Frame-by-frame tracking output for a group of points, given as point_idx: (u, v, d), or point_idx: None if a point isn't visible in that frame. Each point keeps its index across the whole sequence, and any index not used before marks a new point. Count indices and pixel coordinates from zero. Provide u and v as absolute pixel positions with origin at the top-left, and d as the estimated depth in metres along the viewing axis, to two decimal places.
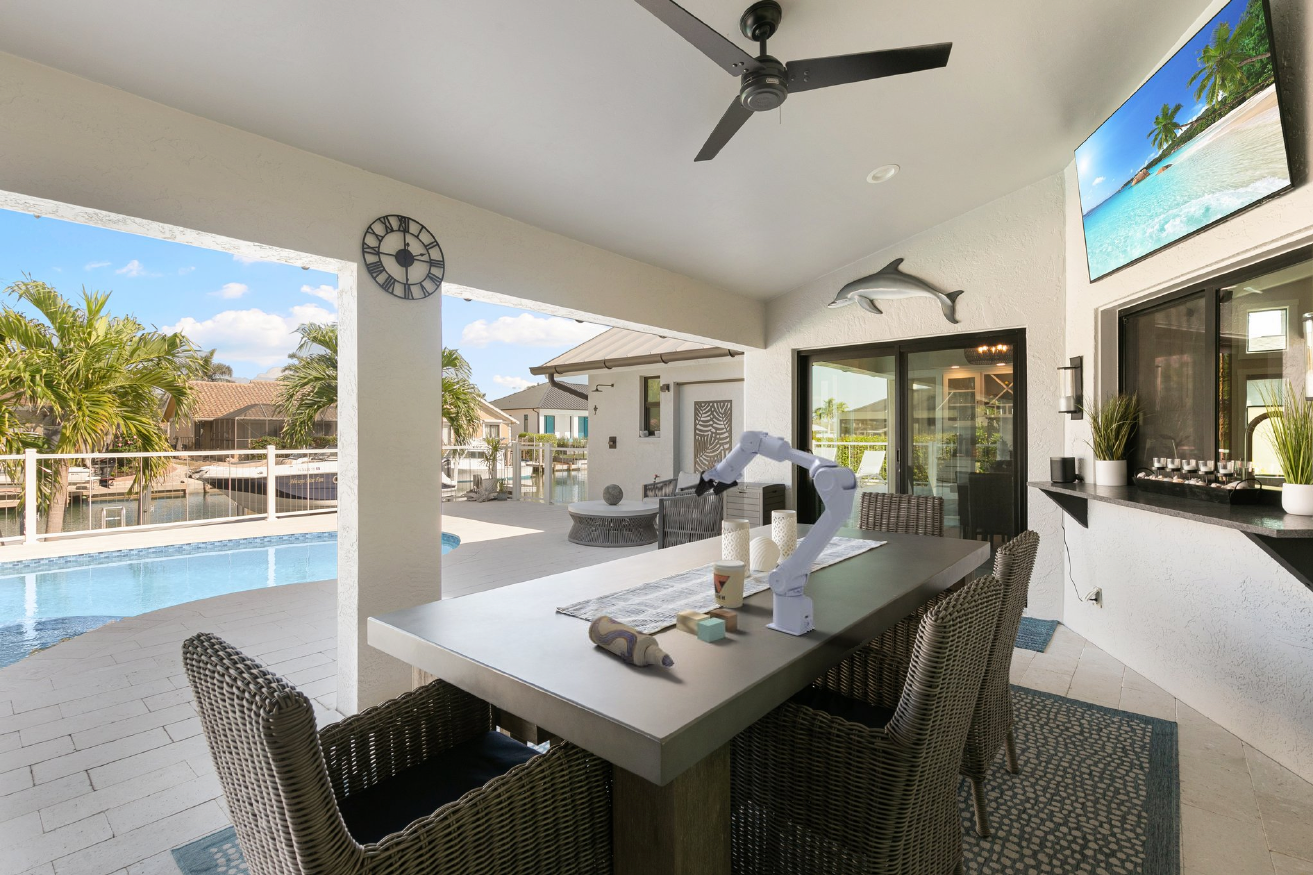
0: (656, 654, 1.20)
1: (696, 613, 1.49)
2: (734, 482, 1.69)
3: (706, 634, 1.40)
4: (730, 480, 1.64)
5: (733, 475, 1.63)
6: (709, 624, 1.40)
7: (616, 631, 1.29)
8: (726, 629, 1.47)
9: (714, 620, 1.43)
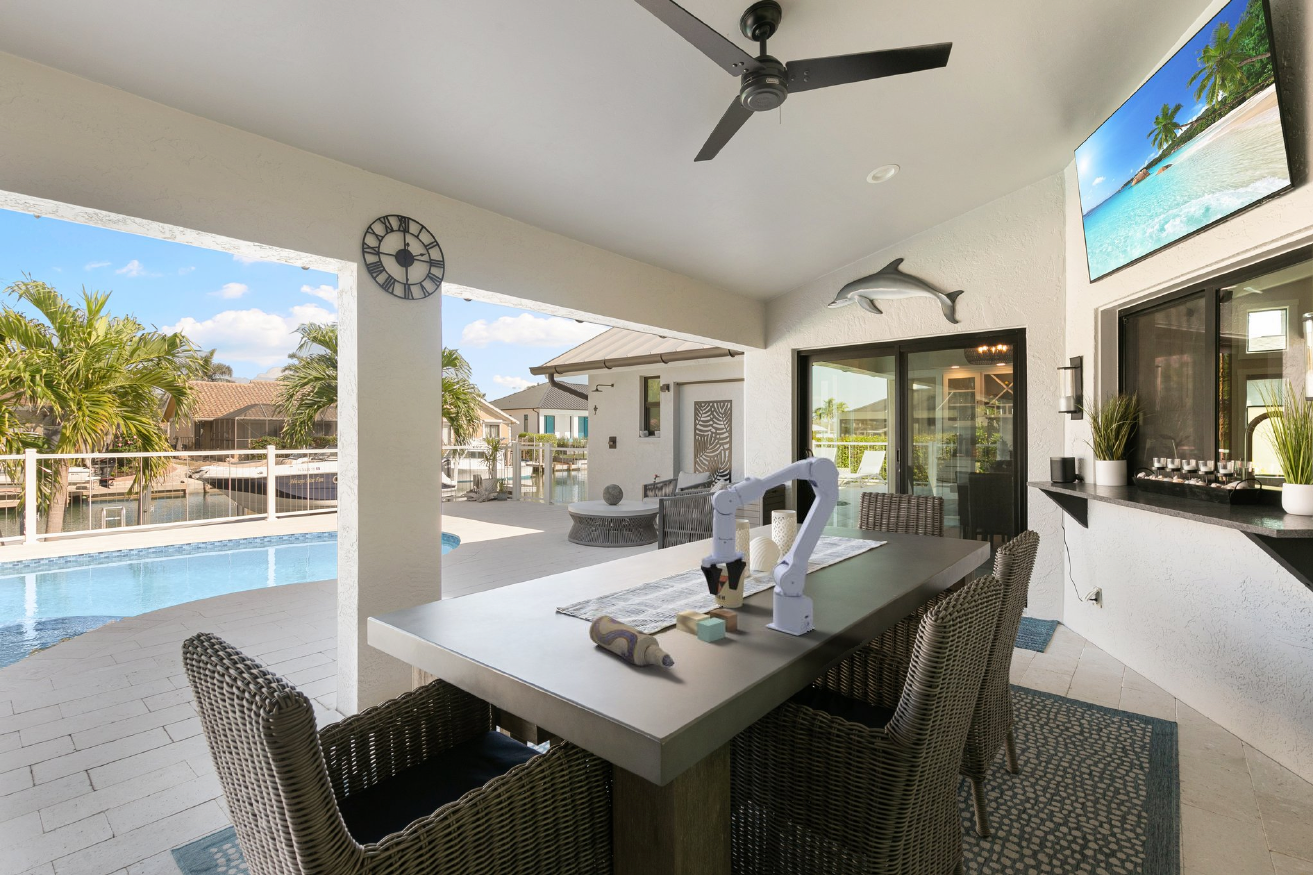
0: (656, 654, 1.20)
1: (696, 613, 1.49)
2: (741, 562, 1.52)
3: (706, 634, 1.40)
4: (732, 555, 1.48)
5: (730, 547, 1.48)
6: (709, 624, 1.40)
7: (617, 631, 1.29)
8: (726, 629, 1.47)
9: (714, 620, 1.43)
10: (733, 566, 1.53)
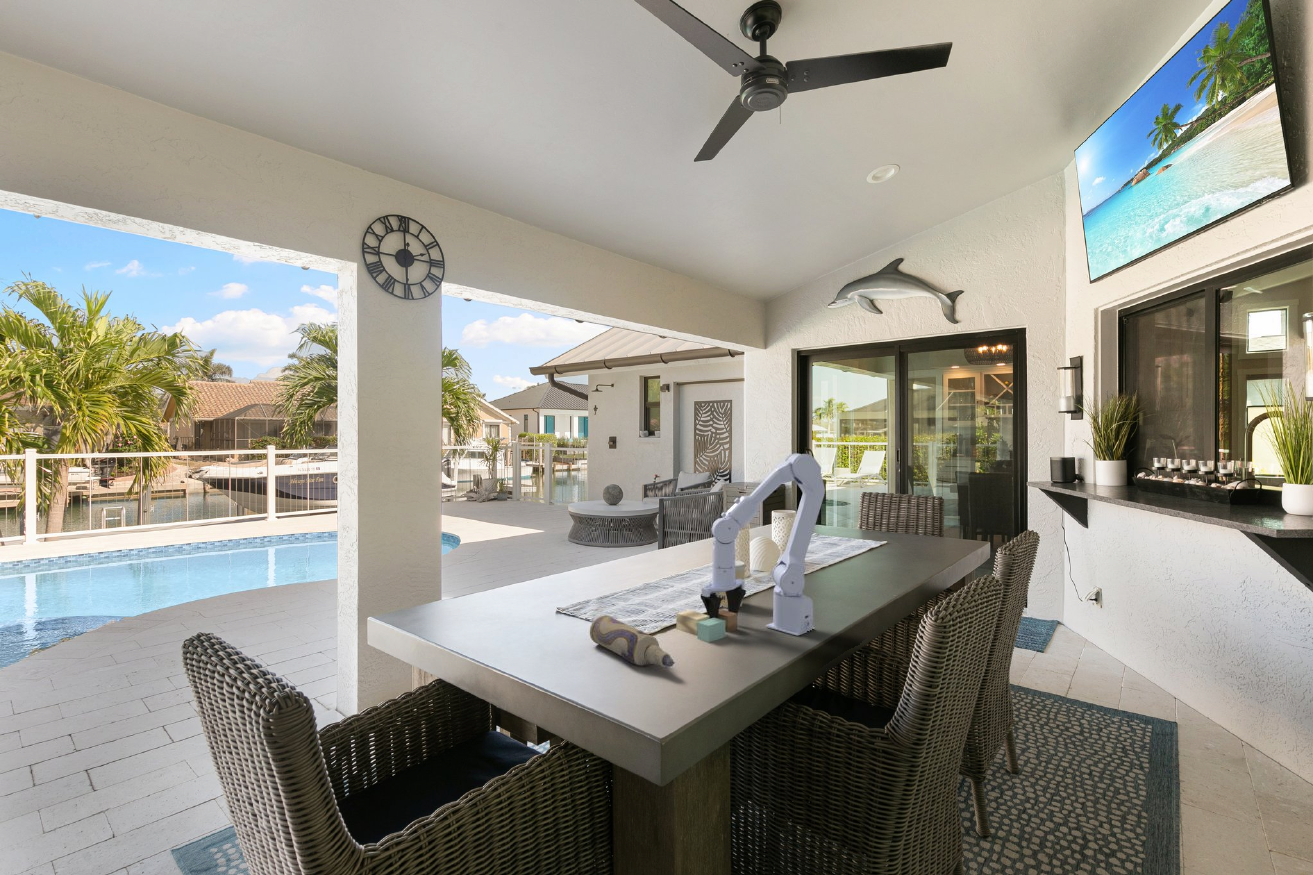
0: (656, 654, 1.20)
1: (696, 613, 1.49)
2: (740, 590, 1.52)
3: (706, 634, 1.40)
4: (731, 584, 1.48)
5: (730, 576, 1.48)
6: (708, 624, 1.40)
7: (617, 631, 1.29)
8: (726, 629, 1.47)
9: (714, 620, 1.43)
10: (733, 594, 1.53)
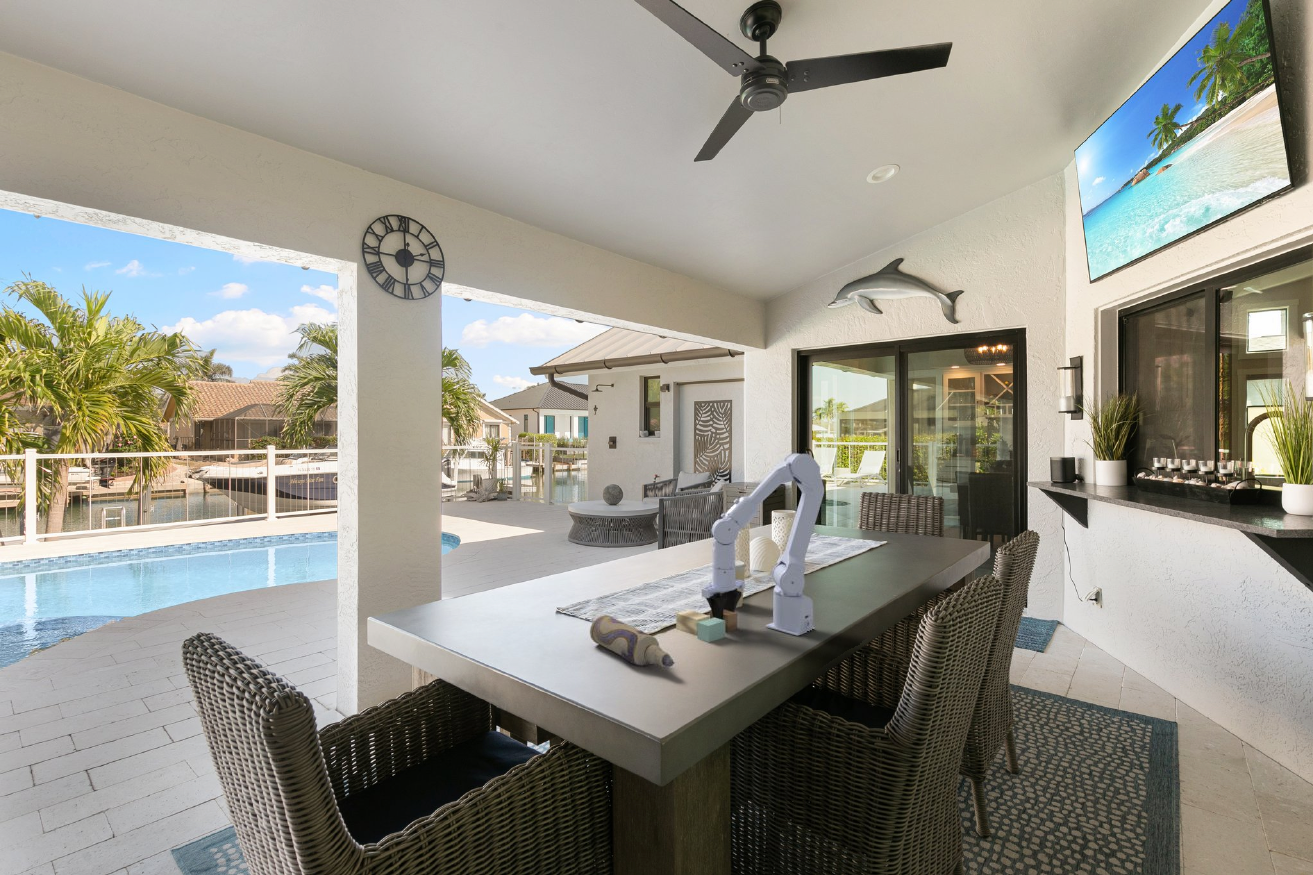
0: (656, 654, 1.20)
1: (696, 613, 1.49)
2: (736, 592, 1.51)
3: (706, 634, 1.40)
4: (732, 585, 1.48)
5: (730, 577, 1.48)
6: (708, 624, 1.40)
7: (617, 631, 1.29)
8: (726, 628, 1.47)
9: (714, 620, 1.43)
10: (728, 596, 1.52)
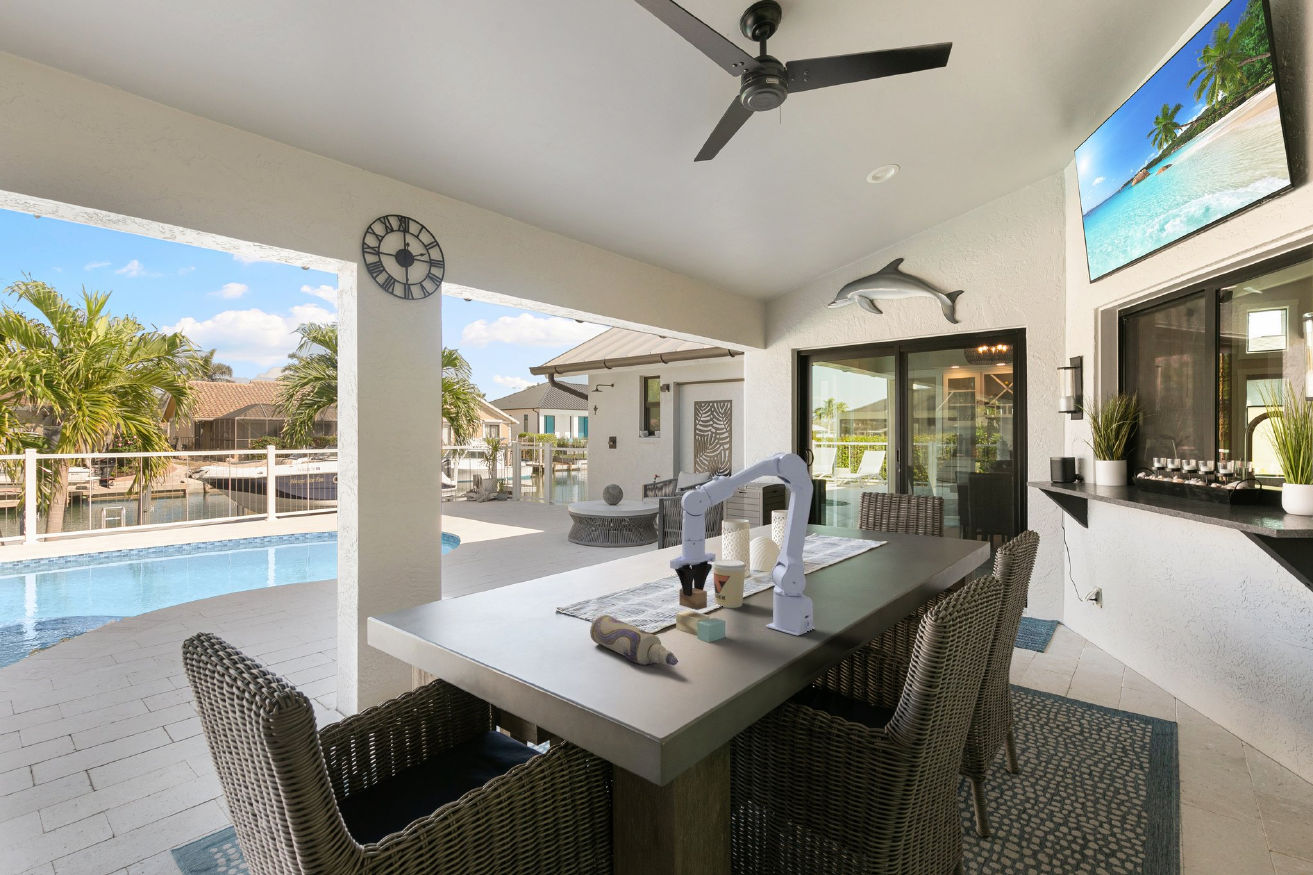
0: (660, 653, 1.21)
1: (696, 613, 1.49)
2: (706, 564, 1.49)
3: (706, 634, 1.40)
4: (701, 557, 1.46)
5: (699, 548, 1.46)
6: (708, 624, 1.40)
7: (618, 630, 1.30)
8: (695, 606, 1.45)
9: (714, 620, 1.43)
10: (698, 569, 1.50)
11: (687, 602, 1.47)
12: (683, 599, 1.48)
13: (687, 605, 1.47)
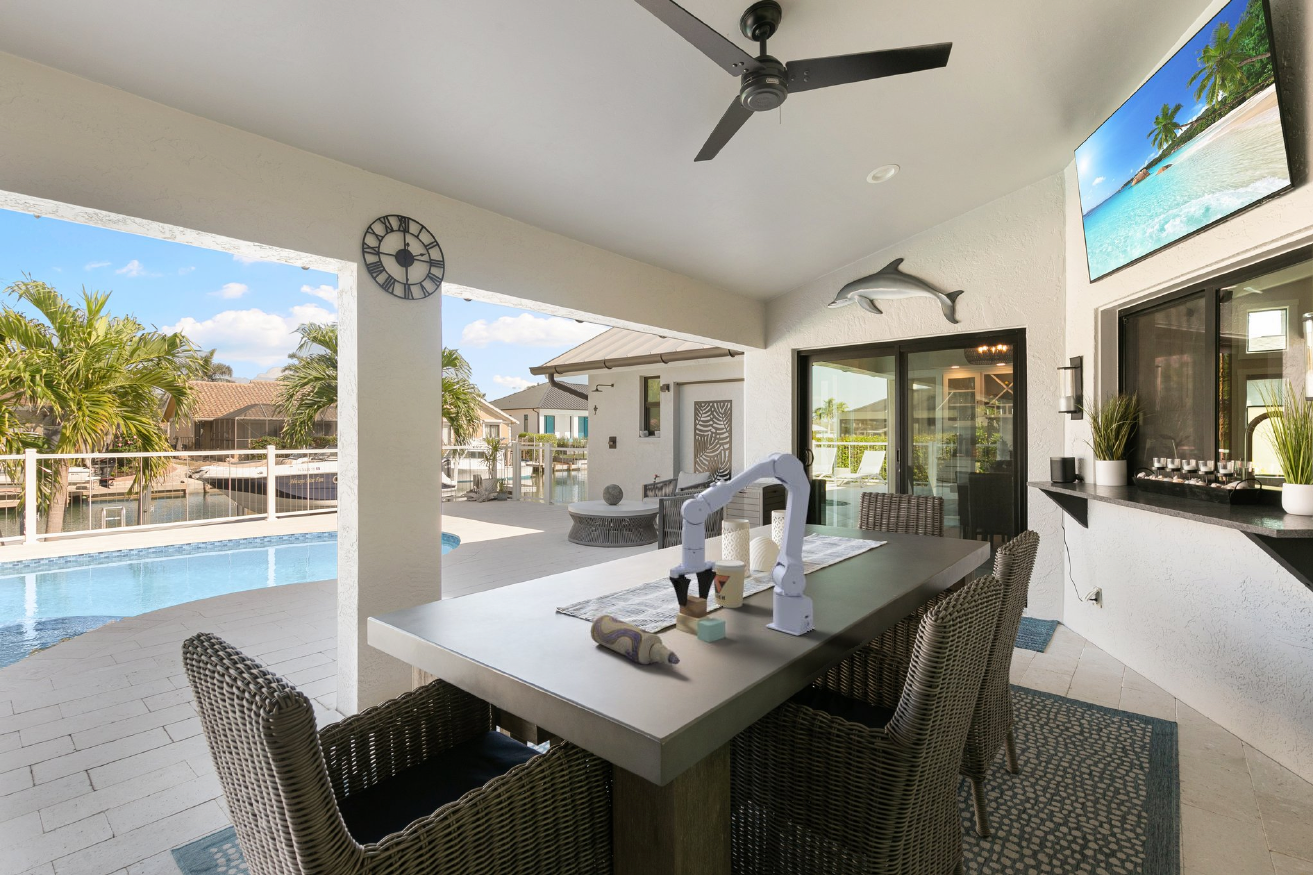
0: (662, 652, 1.21)
1: None
2: (711, 572, 1.50)
3: (706, 634, 1.40)
4: (701, 565, 1.46)
5: (699, 557, 1.46)
6: (708, 624, 1.40)
7: (619, 630, 1.30)
8: (695, 615, 1.45)
9: (714, 620, 1.43)
10: (703, 576, 1.51)
11: (687, 610, 1.47)
12: (683, 607, 1.48)
13: (687, 613, 1.47)
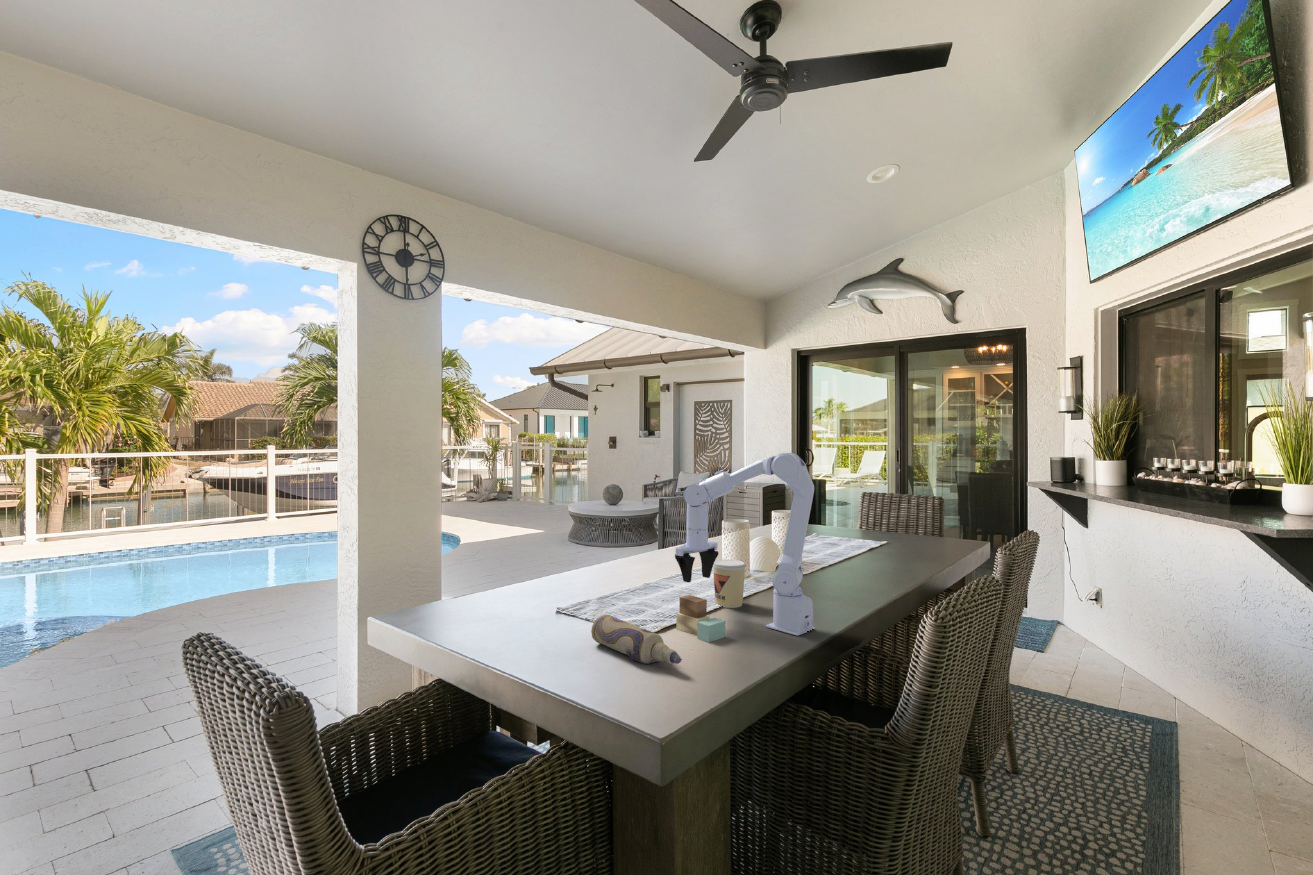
0: (663, 651, 1.22)
1: None
2: (713, 551, 1.62)
3: (705, 634, 1.40)
4: (704, 545, 1.58)
5: (702, 537, 1.57)
6: (708, 624, 1.40)
7: (621, 630, 1.30)
8: (695, 615, 1.45)
9: (714, 620, 1.43)
10: (706, 555, 1.62)
11: (687, 610, 1.47)
12: (683, 607, 1.48)
13: (687, 613, 1.47)
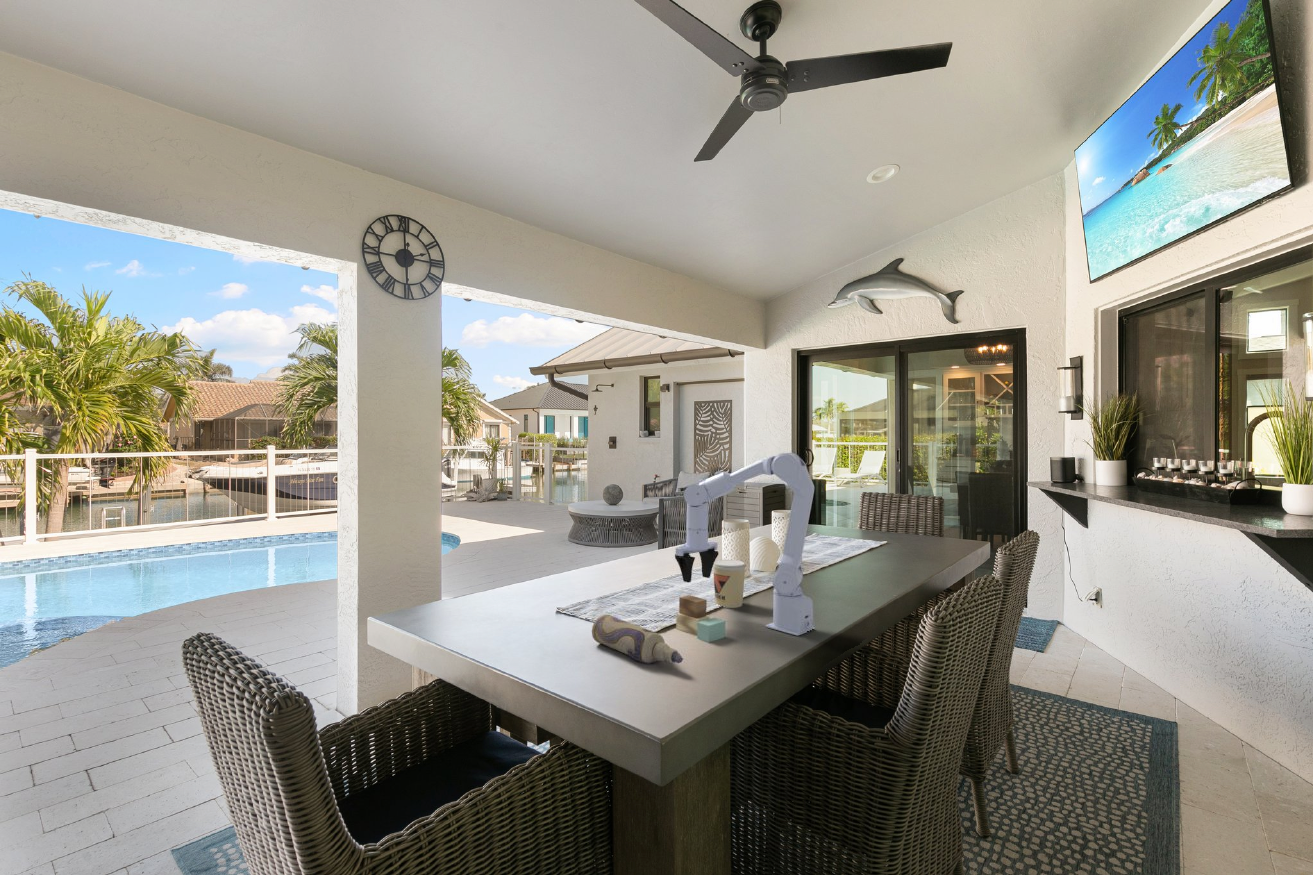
0: (665, 651, 1.22)
1: None
2: (713, 551, 1.62)
3: (705, 634, 1.40)
4: (704, 545, 1.58)
5: (702, 537, 1.57)
6: (708, 624, 1.40)
7: (621, 629, 1.30)
8: (695, 615, 1.45)
9: (714, 620, 1.43)
10: (706, 555, 1.62)
11: (687, 610, 1.47)
12: (683, 607, 1.48)
13: (687, 613, 1.47)
